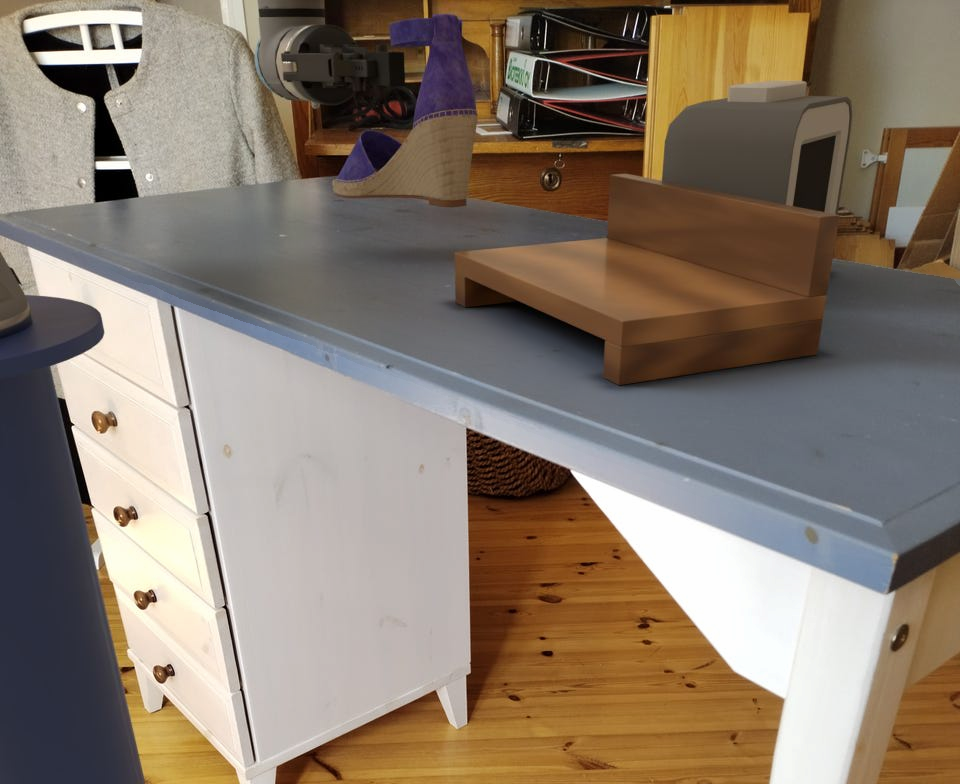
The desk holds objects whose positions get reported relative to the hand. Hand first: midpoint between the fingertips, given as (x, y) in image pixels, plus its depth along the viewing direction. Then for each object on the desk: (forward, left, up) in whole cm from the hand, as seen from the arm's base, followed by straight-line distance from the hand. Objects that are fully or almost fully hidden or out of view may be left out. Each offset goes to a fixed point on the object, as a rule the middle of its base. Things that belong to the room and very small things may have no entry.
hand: (396, 69), depth 92 cm
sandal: (0, 0, -11) cm, 11 cm away
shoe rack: (+5, -32, -17) cm, 37 cm away
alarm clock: (+23, -23, -17) cm, 37 cm away
